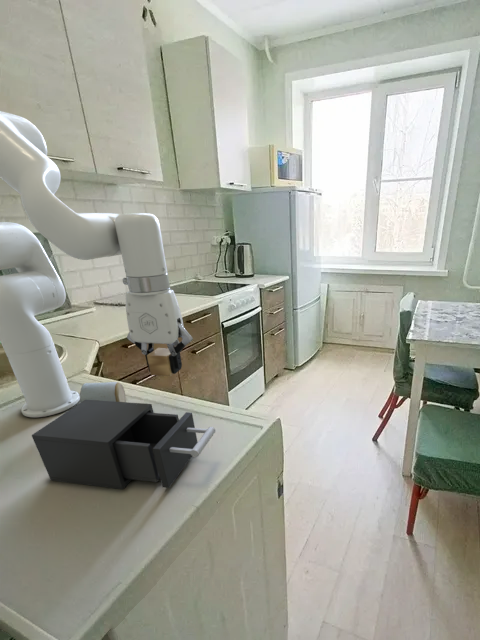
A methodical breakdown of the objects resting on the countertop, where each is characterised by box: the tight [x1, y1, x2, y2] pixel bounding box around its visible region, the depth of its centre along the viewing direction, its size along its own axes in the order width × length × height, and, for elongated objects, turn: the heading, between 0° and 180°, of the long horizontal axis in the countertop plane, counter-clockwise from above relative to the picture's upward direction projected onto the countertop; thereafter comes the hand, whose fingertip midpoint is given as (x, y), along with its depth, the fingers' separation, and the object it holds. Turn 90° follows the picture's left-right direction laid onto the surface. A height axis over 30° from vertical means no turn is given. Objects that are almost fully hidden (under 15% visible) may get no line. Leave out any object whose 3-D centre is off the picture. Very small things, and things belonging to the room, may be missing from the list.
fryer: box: [31, 400, 155, 490], centre depth 64 cm, size 15×13×10 cm
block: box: [147, 347, 173, 377], centre depth 75 cm, size 4×4×4 cm
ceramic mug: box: [79, 381, 127, 403], centre depth 84 cm, size 11×8×8 cm
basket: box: [112, 411, 216, 489], centre depth 62 cm, size 19×11×8 cm, turn 78°
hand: (165, 369), depth 76 cm, fingers closed on block, 4 cm apart
